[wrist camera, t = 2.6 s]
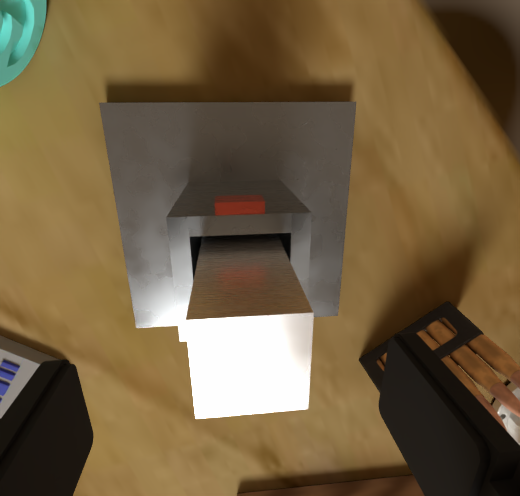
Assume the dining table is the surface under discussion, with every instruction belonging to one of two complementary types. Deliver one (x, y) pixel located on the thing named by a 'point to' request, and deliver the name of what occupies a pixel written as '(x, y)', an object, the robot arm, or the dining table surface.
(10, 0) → the decorative dice
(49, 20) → the dining table surface
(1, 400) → the remote control
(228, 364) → the column
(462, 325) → the ammunition clip
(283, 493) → the frame
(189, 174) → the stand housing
